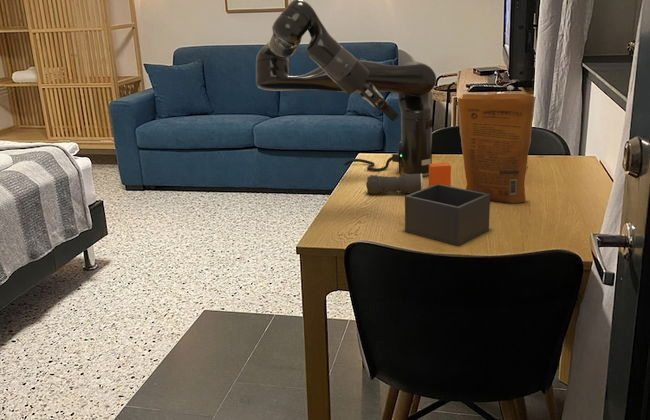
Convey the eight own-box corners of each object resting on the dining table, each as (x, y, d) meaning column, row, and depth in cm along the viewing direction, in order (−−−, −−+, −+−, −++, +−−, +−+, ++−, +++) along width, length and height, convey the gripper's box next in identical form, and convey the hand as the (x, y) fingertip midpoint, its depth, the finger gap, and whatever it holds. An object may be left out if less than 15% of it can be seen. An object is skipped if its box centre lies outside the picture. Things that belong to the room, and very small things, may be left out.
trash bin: (404, 231, 154) (404, 196, 151) (436, 217, 162) (437, 183, 159) (458, 245, 144) (458, 208, 141) (489, 229, 152) (490, 194, 150)
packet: (430, 208, 169) (431, 166, 165) (428, 204, 172) (428, 163, 168) (450, 207, 169) (450, 165, 166) (447, 203, 172) (448, 162, 169)
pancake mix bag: (526, 207, 166) (531, 96, 157) (454, 198, 176) (456, 92, 167) (533, 200, 171) (539, 91, 163) (463, 191, 181) (465, 89, 173)
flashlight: (366, 196, 181) (365, 177, 179) (367, 191, 186) (366, 172, 184) (422, 195, 179) (422, 176, 177) (422, 190, 184) (422, 171, 182)
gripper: (332, 78, 166) (378, 121, 170) (337, 85, 152) (387, 132, 156) (353, 55, 164) (399, 99, 168) (359, 61, 151) (409, 108, 155)
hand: (393, 115), depth 162 cm, fingers open, 8 cm apart
